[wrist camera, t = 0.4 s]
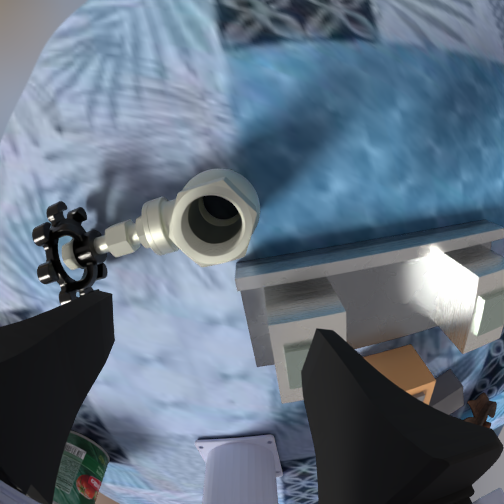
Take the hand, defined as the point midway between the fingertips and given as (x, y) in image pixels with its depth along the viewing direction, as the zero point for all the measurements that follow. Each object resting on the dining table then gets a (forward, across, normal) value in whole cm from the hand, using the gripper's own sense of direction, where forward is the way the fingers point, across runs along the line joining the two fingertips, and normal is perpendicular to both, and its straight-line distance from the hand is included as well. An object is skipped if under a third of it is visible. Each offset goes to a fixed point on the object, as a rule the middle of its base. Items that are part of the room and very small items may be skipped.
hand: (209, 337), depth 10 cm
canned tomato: (+10, +15, +30) cm, 35 cm away
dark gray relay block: (+10, -23, +12) cm, 28 cm away
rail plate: (+10, -12, +1) cm, 15 cm away
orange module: (+10, -14, +9) cm, 19 cm away
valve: (+10, +4, -1) cm, 11 cm away
